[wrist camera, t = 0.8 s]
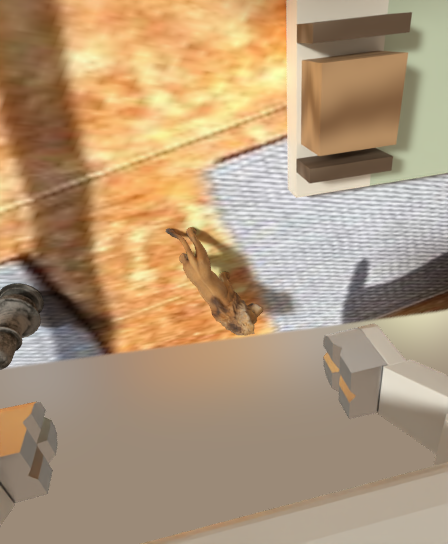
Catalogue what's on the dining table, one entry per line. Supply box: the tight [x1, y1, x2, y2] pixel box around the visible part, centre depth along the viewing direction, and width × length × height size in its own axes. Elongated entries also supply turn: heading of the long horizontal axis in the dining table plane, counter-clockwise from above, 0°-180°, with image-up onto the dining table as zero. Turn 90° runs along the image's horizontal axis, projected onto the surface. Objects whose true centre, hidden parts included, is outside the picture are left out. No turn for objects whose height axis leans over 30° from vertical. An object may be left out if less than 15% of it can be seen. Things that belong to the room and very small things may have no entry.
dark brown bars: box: [296, 12, 412, 183], centre depth 39 cm, size 14×9×4 cm, turn 5°
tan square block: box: [301, 51, 408, 156], centre depth 39 cm, size 8×8×5 cm
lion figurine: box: [166, 227, 263, 336], centre depth 48 cm, size 15×5×9 cm, turn 40°
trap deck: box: [286, 0, 448, 198], centre depth 43 cm, size 20×30×3 cm, turn 95°
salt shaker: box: [0, 284, 44, 370], centre depth 44 cm, size 6×6×12 cm
